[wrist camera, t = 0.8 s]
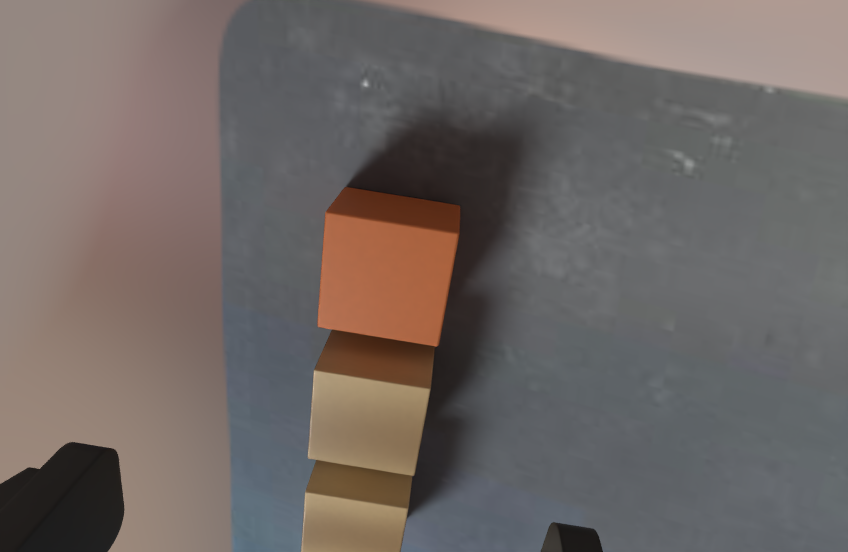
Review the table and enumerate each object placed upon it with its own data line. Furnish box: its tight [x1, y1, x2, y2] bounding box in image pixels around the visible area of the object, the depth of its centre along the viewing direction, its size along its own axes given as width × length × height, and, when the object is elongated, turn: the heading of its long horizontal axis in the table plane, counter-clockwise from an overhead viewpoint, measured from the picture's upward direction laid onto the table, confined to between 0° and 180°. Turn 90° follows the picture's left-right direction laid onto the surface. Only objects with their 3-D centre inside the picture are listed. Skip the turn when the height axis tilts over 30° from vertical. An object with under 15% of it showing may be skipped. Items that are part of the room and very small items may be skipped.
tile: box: [301, 460, 412, 552], centre depth 26 cm, size 5×5×3 cm
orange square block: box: [317, 187, 460, 346], centre depth 21 cm, size 5×5×3 cm
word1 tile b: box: [308, 329, 435, 476], centre depth 23 cm, size 5×5×3 cm
